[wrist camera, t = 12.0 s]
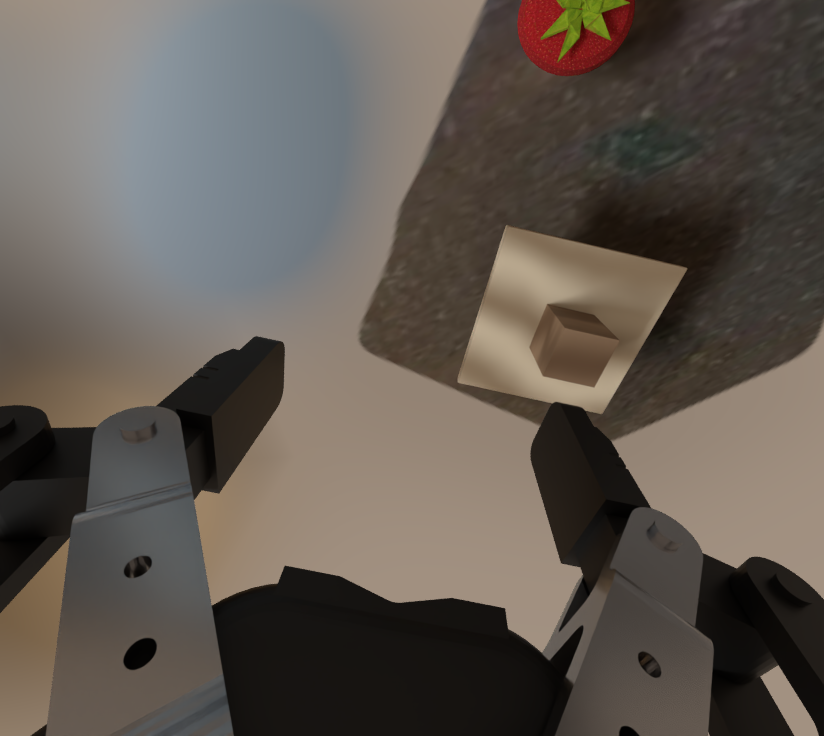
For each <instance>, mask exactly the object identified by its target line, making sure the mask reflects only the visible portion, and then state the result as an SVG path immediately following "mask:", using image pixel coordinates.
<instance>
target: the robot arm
mask: <svg viewBox="0 0 824 736" xmlns="http://www.w3.org/2000/svg"><path fill="white" fill-rule="evenodd" d="M284 353H285V347H284V344H283V342H281V341H276V340H272V339H267V338H262V337H257V336H256V337H254V338H252V339H251V340H250V341H249V342H248V343H247V344H246V345H245V346H244V347H243V348H241V349H240V350H236V349H231V350H229V351H226V352H224V353H221V354H219V355H216V356H215V357H213V358H212V359H211V360H210V361H209V362H207V363H206V364H205V365H204V367H203V368H201V369H199V370H198V371H197V372H196V373H195V374H194V375H193V377H190V378H189V379H187V380H186V381H185V382H184V383H183V384H182V385H180V386H179V387H178V388H177V389H176V390H174V391H173V392H172V393H171V394H170V395H169V396H167V397H166V398H165V399H164V400H163V401H161V402H160V403H159V404H158V405H157V406H143V407H135V408H130V409H127V410H124V411H121V412H118V413H116V414H114V415H112V416H110V417H108V418H107V419H105V420H104V421H103V422H101V423H100V424H99V425H98V426H97V427H83V428H51V426H50V423H49V421H48V418H47V415H46V414H45V413H44V412H43V411H42V410H40V409H38V408H35V407H31V406H23V405H22V406H21V405H19V406H18V405H13V406H2V407H0V613H1V612H2V611H3V609H4V608H5V607H6V606H7V605H8V604H9V603H10V602H11V601H12V599H14V597H15V596H16V595H17V594H18V593H19V592H20V591H21V590H22V589H23V588H24V587H25V585H26V584H27V583H28V582H29V581H30V580H31V579H32V578H33V577H34V576H35V574H36V573H37V572H38V571H39V570H40V569H41V568H42V567H43V566H44V565H45V564H46V562H47V561H48V560H49V559H50V558H51V557H52V556H53V555H54V554H55V553H56V552H57V551H58V549H59V548H60V547H61V546H62V545H63V544H64V543H65V542H66V541H67V540H68V539H69V537H70V541H69V550H68V558H67V566H66V574H65V582H64V591H63V599H62V607H61V615H60V624H59V632H58V640H57V648H56V656H55V665H54V673H53V681H52V689H51V698H50V706H49V714H48V722H47V725H45V726H44V727H42V728H41V729H39V730H38V731H37V732H35V733H34V734H32V736H708V732H709V735H710V736H794V735H793V733H792V731H791V729H790V728H789V726H788V724H787V723H786V721H785V719H784V717H783V715H782V714H781V712H780V710H779V709H778V707H777V705H776V703H775V702H774V700H773V698H772V696H771V695H770V693H769V691H768V689H767V688H766V686H765V684H764V683H763V681H762V679H761V677H760V676H762V675H763V674H764V673H766V672H768V671H770V670H771V669H773V668H774V667H776V666H778V665H779V667H780V668H781V670H782V671H783V673H784V675H785V676H786V678H787V679H788V681H789V683H790V684H791V686H792V687H793V689H794V691H795V692H796V694H797V695H798V697H799V699H800V700H801V702H802V703H803V705H804V707H805V708H806V710H807V711H808V713H809V715H810V716H811V718H812V720H813V721H814V723H815V725H816V728H817V731H818V734H819V736H824V599H823V598H822V597H821V596H820V595H819V594H818V593H817V592H816V591H815V590H814V589H813V588H812V587H811V586H810V585H809V584H808V583H806V582H805V581H804V580H803V579H801V578H800V577H799V576H797V575H796V574H795V573H793V572H792V571H790V570H789V569H787V568H785V567H784V566H782V565H780V564H778V563H776V562H774V561H771V560H768V559H766V558H762V557H751V558H749V559H748V560H746V561H745V562H744V563H743V564H742V565H741V566H740V567H738V568H737V569H736V568H734V567H732V566H730V565H728V564H725V563H723V562H721V561H719V560H716V559H714V558H712V557H710V556H708V555H706V554H703V553H702V550H701V548H700V546H699V544H698V543H697V541H696V540H695V539H694V537H693V536H692V535H691V534H690V533H689V532H688V531H687V530H686V529H685V528H684V527H683V526H682V525H681V524H679V523H678V522H677V521H676V520H674V519H673V518H671V517H669V516H668V515H666V514H664V513H662V512H660V511H657V510H654V509H651V507H650V505H649V504H648V502H647V500H646V499H645V497H644V495H643V494H642V492H641V491H640V489H639V487H638V485H637V484H636V482H635V480H634V479H633V477H632V475H631V474H630V472H629V470H628V469H626V465H625V464H624V462H623V460H622V459H621V458H620V457H619V454H618V452H617V450H616V449H615V447H614V446H613V444H612V442H611V441H610V440H609V439H608V438H607V437H606V436H605V435H604V434H603V433H602V432H601V431H600V430H599V429H598V428H597V427H594V426H593V424H592V423H591V421H590V419H589V417H588V416H587V414H586V412H585V410H584V409H583V408H582V407H579V406H574V405H570V404H565V403H560V402H554V403H553V404H552V405H551V406H550V408H549V410H548V412H547V414H546V416H545V418H544V420H543V422H542V424H541V426H540V428H539V430H538V432H537V434H536V436H535V438H534V440H533V443H532V446H531V462H532V466H533V469H534V473H535V476H536V480H537V483H538V486H539V490H540V493H541V497H542V500H543V503H544V507H545V510H546V514H547V517H548V520H549V524H550V527H551V531H552V534H553V537H554V541H555V544H556V548H557V551H558V554H559V558H560V561H561V563H562V564H567V565H572V566H577V567H581V570H582V573H583V575H582V577H581V578H580V579H579V581H578V582H577V584H576V586H575V588H574V590H573V592H572V594H571V596H570V599H569V601H568V603H567V605H566V607H565V609H564V611H563V613H562V615H561V618H560V620H559V622H558V624H557V626H556V628H555V630H554V632H553V634H552V636H551V638H550V640H549V642H548V644H547V646H546V647H545V649H544V651H543V652H542V653H541V652H540V651H539V650H538V649H537V648H535V647H534V646H533V645H531V644H530V643H529V642H528V641H527V640H525V639H524V638H522V637H521V636H519V635H517V634H516V633H514V632H512V631H511V630H509V629H508V626H507V620H506V612H505V608H501V607H495V606H490V605H485V604H480V603H475V602H470V601H465V600H459V599H454V598H447V599H436V600H426V601H415V602H404V603H395V602H391V601H388V600H386V599H384V598H382V597H380V596H378V595H376V594H374V593H372V592H370V591H368V590H366V589H364V588H362V587H360V586H358V585H356V584H354V583H352V582H350V581H348V580H346V579H344V578H342V577H340V576H335V575H330V574H325V573H320V572H315V571H310V570H305V569H300V568H294V567H289V566H285V567H284V569H283V572H282V574H281V577H280V579H279V582H278V584H269V585H264V586H259V587H254V588H251V589H248V590H245V591H242V592H239V593H236V594H234V595H232V596H230V597H228V598H225V599H223V600H221V601H220V602H218V603H216V604H214V605H211V599H210V594H209V587H208V582H207V575H206V569H205V563H204V558H203V552H202V546H201V539H200V533H199V528H198V522H197V516H196V509H195V504H194V500H195V498H196V497H197V496H198V494H199V493H200V492H201V490H204V491H209V492H214V493H220V491H221V490H222V488H223V487H224V485H225V484H226V482H227V481H228V480H229V478H230V477H231V475H232V474H233V472H234V471H235V469H236V468H237V466H238V465H239V463H240V462H241V460H242V459H243V457H244V456H245V454H246V453H247V451H248V450H249V449H250V447H251V446H252V444H253V443H254V441H255V439H256V438H257V437H258V435H259V434H260V432H261V431H262V429H263V428H264V426H265V425H266V424H267V422H268V421H269V419H270V418H271V416H272V415H273V413H274V412H275V410H276V409H277V407H278V405H279V403H280V401H281V398H282V394H283V388H284V356H285V354H284Z"/></svg>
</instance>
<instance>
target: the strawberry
mask: <svg viewBox="0 0 824 736" xmlns="http://www.w3.org/2000/svg"><path fill="white" fill-rule="evenodd" d="M634 9H635V0H522V3H521V6H520V9H519V14H518V35H519V39H520V42H521V45H522V47H523V49H524V51H525V53H526V55H527V56H528V57H529V58H530V60H531V61H532V62H533V63H534V64H536V65H537V66H538V67H539V68H541V69H543V70H545V71H546V72H548V73H552V74H555V75H560V76H574V75H580V74H584V73H587V72H590V71H592V70H594V69H596V68H598V67H599V66H601V65H602V64H603V63H605V62H606V61H607V60H609V59H610V58H611V56H612V55H613V54H614V53H615V52H616V51H617V50H618V48H619V47H620V45H621V44H622V42H623V41H624V39H625V38H626V36H627V34H628V32H629V29H630V27H631V25H632V21H633V17H634Z"/></svg>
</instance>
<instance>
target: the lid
mask: <svg viewBox="0 0 824 736" xmlns="http://www.w3.org/2000/svg"><path fill="white" fill-rule="evenodd" d="M687 269H688V268H685V267H683V266H680V265H676V264H672V263H667V262H663V261H659V260H655V259H650V258H646V257H642V256H638V255H633V254H629V253H625V252H620V251H616V250H612V249H608V248H603V247H599V246H595V245H591V244H586V243H582V242H578V241H574V240H569V239H565V238H561V237H557V236H552V235H548V234H544V233H540V232H535V231H531V230H527V229H523V228H518V227H514V226H510V225H506V227H505V231H504V234H503V237H502V240H501V243H500V246H499V249H498V253H497V256H496V259H495V262H494V265H493V268H492V271H491V275H490V278H489V281H488V284H487V287H486V290H485V294H484V297H483V300H482V303H481V306H480V309H479V312H478V316H477V319H476V322H475V325H474V328H473V331H472V334H471V338H470V341H469V344H468V347H467V350H466V353H465V356H464V360H463V363H462V366H461V369H460V372H459V375H458V383H463V384H467V385H472V386H476V387H481V388H485V389H490V390H494V391H499V392H504V393H508V394H513V395H517V396H522V397H526V398H531V399H536V400H540V401H545V402H549V403H554V402H560V403H565V404H570V405H574V406H579V407H582V408H583V409H584V410H586V411H590V412H595V413H599V414H602V413H603V412H604V410H605V408H606V406H607V405H608V403H609V401H610V400H611V398H612V396H613V395H614V393H615V391H616V389H617V388H618V386H619V384H620V383H621V381H622V379H623V378H624V376H625V374H626V372H627V371H628V369H629V367H630V366H631V364H632V362H633V361H634V359H635V357H636V355H637V354H638V352H639V350H640V349H641V347H642V345H643V344H644V342H645V340H646V338H647V337H648V335H649V333H650V332H651V330H652V328H653V327H654V325H655V323H656V321H657V320H658V318H659V316H660V315H661V313H662V311H663V310H664V308H665V306H666V304H667V303H668V301H669V299H670V298H671V296H672V294H673V293H674V291H675V289H676V287H677V286H678V284H679V282H680V281H681V279H682V277H683V276H684V274H685V272H686V270H687Z"/></svg>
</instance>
